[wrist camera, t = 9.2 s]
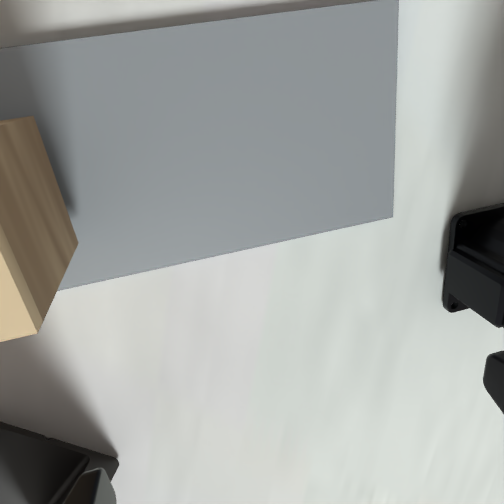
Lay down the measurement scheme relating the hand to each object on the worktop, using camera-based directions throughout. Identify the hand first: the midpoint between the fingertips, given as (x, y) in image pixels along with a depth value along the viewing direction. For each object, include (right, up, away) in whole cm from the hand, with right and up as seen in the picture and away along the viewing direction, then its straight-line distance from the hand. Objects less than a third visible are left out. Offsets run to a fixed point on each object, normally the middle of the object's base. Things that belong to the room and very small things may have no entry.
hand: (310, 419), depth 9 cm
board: (-6, +8, +9) cm, 13 cm away
